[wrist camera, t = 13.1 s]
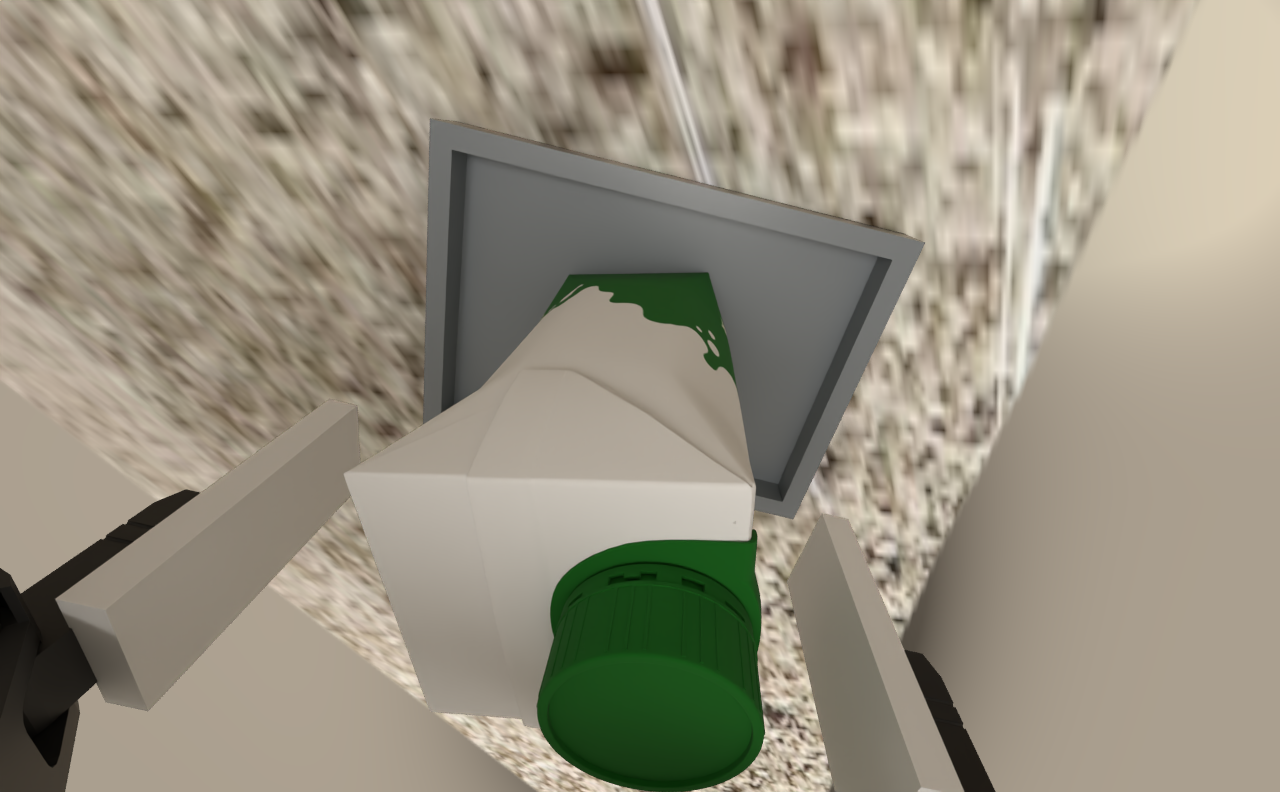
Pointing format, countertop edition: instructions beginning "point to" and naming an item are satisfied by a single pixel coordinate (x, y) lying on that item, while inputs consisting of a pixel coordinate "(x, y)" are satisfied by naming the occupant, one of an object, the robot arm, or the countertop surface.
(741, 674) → the soya milk
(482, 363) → the tray
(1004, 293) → the countertop surface
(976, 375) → the countertop surface
